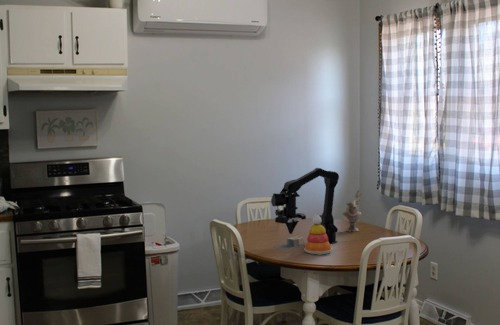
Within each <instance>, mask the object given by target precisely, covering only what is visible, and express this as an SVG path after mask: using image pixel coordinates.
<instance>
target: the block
mask: <svg viewBox="0 0 500 325" xmlns="http://www.w3.org/2000/svg"><path fill="white" fill-rule="evenodd" d="M304 241H305V239H304V237H301V236H293V237H288V238H287V239H286V244H287V245H289V246H298V245H302V244H304V243H305V242H304Z"/></svg>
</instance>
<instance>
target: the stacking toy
mask: <svg viewBox="0 0 500 325" xmlns="http://www.w3.org/2000/svg"><path fill="white" fill-rule="evenodd" d="M319 215H320V214H319ZM319 215H318V214H314V216H313V217H312V223H313V224H312V225H311V226H310V228H309V230H308V235H307V239H306V240H307V242H305V243H306V245H305V247H304V248H303V249H304V251H305V253H306V254H307V253H308V254H310V255H318V256H322V255H326V254H329V253H331V252H332V250H333V248H332V246H331V244H330V243H329V242H328V236H327V234H326V230H325V228H324V227H323V226H322V225H320V223H321V221H322V220H321V217H320V216H319Z"/></svg>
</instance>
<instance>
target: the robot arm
mask: <svg viewBox="0 0 500 325" xmlns="http://www.w3.org/2000/svg"><path fill="white" fill-rule="evenodd" d="M318 177H321V178H323V179H324V180H323V182H324V184H325V185H324V186H325V193H324V202H323V203H324V204H323V210H322V214H319V216H320V217H321V220H322V221H321V223H320V225H322V226H323V227H324V228H325V230H326V234H327V236H328V242H329V243H330V245H331V244H332V245H333V244H335V243H336V244H337V243H338V241H337V239H336V237H337V236H336V234H337V233H338V231H339V228H338V227H337V226H336V225H335V222H334V220H335V219H334V216H333V206H334V199H335V198H334V197H335V188H336V186H337V184H338V182H339V179H340V175H339V173H338V172H336V171H333V170H332V171H331V170H325V169H323V168H321V167H315V168H314V169H312V170H311V171H308V172H307V173H305V174H304V175H302V176H300V177H298V178H296V179H292V180H288V181H286V182H285V183H284V185H283V187H282V189H281V191H280V192H279V193H276V192H274V193H272V196H271V200H270V201H271V206H272V207H283V209H282V210H281V209H280V208H279V209H278V208H277V209H275V211H274V212H275V214H274V215H275V216H276V217H274V221H275V223H277V224H285V225H286V227H287V231H288V233H289V235H292V234H293V232H294V230H295V229H296V226H297V225H298V223H299V222H300V220H298V219H301V220H306V218H307V216H306V214H305V213H302V212H297V210H298V208H299V206H297V198H298V197H300V194H299V193H298V191H299V190H300V189H301V188H302V187H304V185H306V184H307V183H310V182H311V181H313V180H315V179H317V178H318Z"/></svg>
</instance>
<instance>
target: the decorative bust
mask: <svg viewBox="0 0 500 325" xmlns="http://www.w3.org/2000/svg"><path fill="white" fill-rule="evenodd" d="M359 193H360V190H357V191H356V193H355V195H354V200H353V201H352V200H350V201H349V202H346V209H345V211H344V212H343V213H342V215H343V216H344V217H346V218H347V220H348V224H349V227H347V228H346V231H347V232H349V231H357V232H359V231H360V230H359V228H357V227H356V224H357V222H358V221H359V219H360V216H362V212H361V211H359V208H358V205H359V202H360V201H361V200H360V199H358V198H359V197H361V196H362V194H363V193H362V192H361V193H360V194H359Z"/></svg>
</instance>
